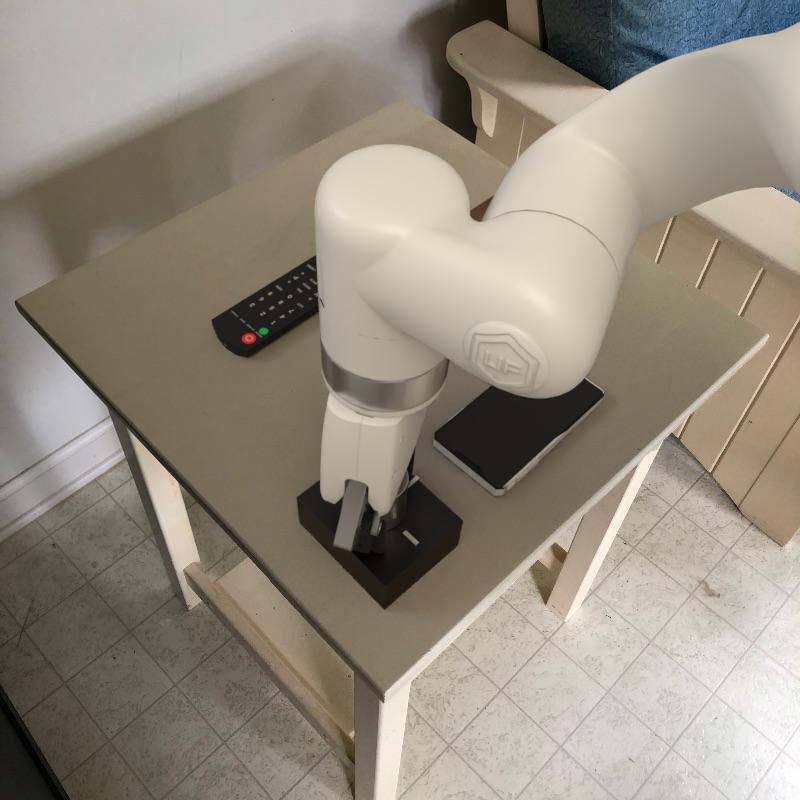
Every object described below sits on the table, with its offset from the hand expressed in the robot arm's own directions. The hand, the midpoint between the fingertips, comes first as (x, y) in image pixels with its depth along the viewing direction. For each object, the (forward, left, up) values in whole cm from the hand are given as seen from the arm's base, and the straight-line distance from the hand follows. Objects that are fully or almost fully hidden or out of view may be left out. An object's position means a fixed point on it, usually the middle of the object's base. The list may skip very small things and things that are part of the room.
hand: (378, 505), depth 62 cm
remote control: (+14, -24, -5) cm, 28 cm away
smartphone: (-8, -14, -5) cm, 17 cm away
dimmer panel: (0, 0, -4) cm, 4 cm away
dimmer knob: (0, 0, 0) cm, 0 cm away
